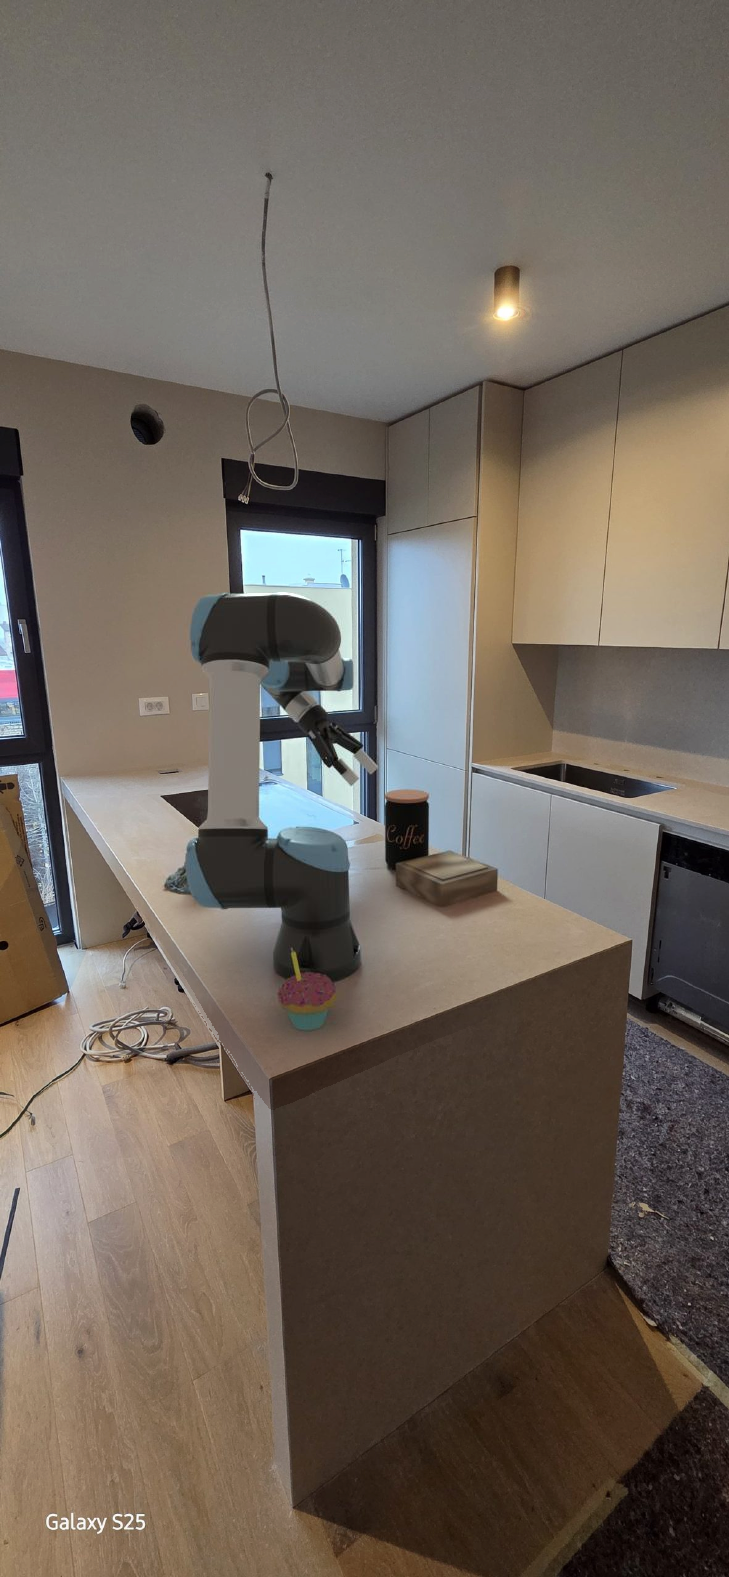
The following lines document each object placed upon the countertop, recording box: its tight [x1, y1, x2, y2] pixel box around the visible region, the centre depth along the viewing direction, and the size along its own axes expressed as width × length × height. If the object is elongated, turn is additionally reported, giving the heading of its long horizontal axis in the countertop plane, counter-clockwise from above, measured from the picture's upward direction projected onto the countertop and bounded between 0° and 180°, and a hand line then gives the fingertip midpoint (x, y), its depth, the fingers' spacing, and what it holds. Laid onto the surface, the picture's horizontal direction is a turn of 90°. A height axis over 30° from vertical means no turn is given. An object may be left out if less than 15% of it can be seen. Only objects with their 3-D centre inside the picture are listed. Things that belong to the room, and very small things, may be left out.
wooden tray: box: [395, 850, 499, 908], centre depth 147 cm, size 16×16×5 cm
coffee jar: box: [384, 788, 430, 871], centre depth 160 cm, size 11×11×18 cm
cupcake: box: [277, 948, 339, 1032], centre depth 95 cm, size 9×8×12 cm
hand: (365, 776), depth 162 cm, fingers open, 13 cm apart
